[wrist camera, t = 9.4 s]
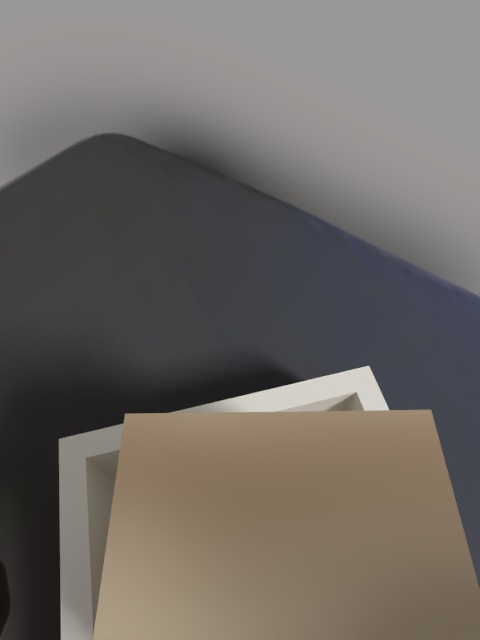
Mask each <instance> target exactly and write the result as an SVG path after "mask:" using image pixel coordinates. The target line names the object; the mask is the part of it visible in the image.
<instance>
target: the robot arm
mask: <svg viewBox="0 0 480 640" xmlns="http://www.w3.org/2000/svg"><path fill="white" fill-rule="evenodd" d="M10 607H11V597H10V591H9V585H8V579H7V573H6V568H5V564H4V563H3V561H1V560H0V636H1V634H2V631H3V629H4V626H5V624H6V621H7V619H8V616H9V612H10Z"/></svg>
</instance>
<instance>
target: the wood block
mask: <svg viewBox="0 0 480 640" xmlns="http://www.w3.org/2000/svg"><path fill="white" fill-rule="evenodd" d="M93 640H480V589H479V585H478V581H477V578H476V574H475V570H474V567H473V563H472V559H471V556H470V552H469V548H468V544H467V541H466V537H465V533H464V530H463V526H462V522H461V519H460V515H459V511H458V508H457V504H456V500H455V496H454V493H453V489H452V485H451V482H450V478H449V474H448V471H447V467H446V463H445V460H444V456H443V452H442V449H441V445H440V441H439V437H438V434H437V430H436V426H435V423H434V419H433V415H432V412H431V410H380V411H299V412H218V413H137V414H125V417H124V424H123V431H122V438H121V445H120V452H119V459H118V466H117V473H116V480H115V487H114V494H113V501H112V508H111V516H110V523H109V530H108V537H107V544H106V551H105V558H104V565H103V572H102V579H101V586H100V593H99V600H98V607H97V614H96V621H95V628H94V635H93Z"/></svg>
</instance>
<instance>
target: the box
mask: <svg viewBox="0 0 480 640" xmlns="http://www.w3.org/2000/svg"><path fill="white" fill-rule="evenodd" d="M380 410H389V408H388V406H387V404H386V402H385V400H384V397H383V395H382V393H381V391H380V389H379V387H378V384H377V382H376V380H375V378H374V376H373V373H372V371H371V369H370V367H369V366H366V367H362V368H358V369H353V370H349V371H345V372H341V373H336V374H332V375H328V376H324V377H319V378H315V379H311V380H307V381H302V382H298V383H294V384H290V385H286V386H281V387H277V388H273V389H269V390H264V391H260V392H256V393H252V394H247V395H243V396H239V397H235V398H230V399H226V400H222V401H218V402H213V403H209V404H205V405H201V406H196V407H192V408H188V409H184V410H179V411H175V412H171V413H218V412H299V411H380ZM122 431H123V424H120V425H116V426H112V427H107V428H103V429H99V430H95V431H90V432H86V433H82V434H78V435H73V436H69V437H65V438H61V439H59V505H60V600H61V640H93V635H94V628H95V621H96V614H97V607H98V600H99V593H100V586H101V579H102V572H103V565H104V558H105V551H106V544H107V537H108V530H109V523H110V516H111V508H112V501H113V494H114V487H115V480H116V473H117V466H118V459H119V452H120V445H121V438H122Z"/></svg>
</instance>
